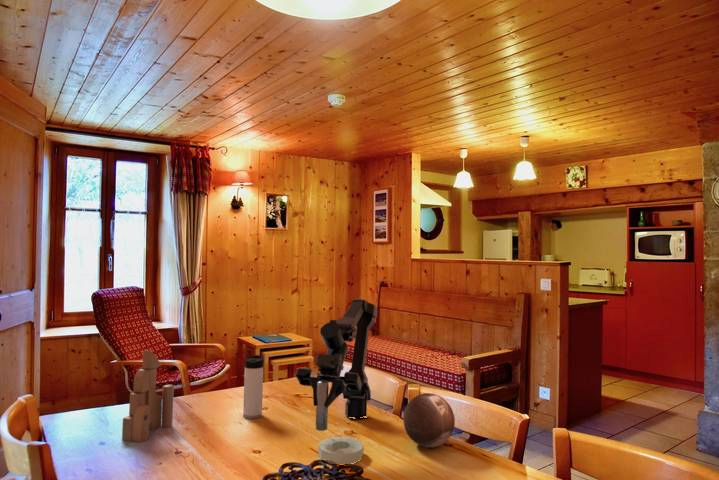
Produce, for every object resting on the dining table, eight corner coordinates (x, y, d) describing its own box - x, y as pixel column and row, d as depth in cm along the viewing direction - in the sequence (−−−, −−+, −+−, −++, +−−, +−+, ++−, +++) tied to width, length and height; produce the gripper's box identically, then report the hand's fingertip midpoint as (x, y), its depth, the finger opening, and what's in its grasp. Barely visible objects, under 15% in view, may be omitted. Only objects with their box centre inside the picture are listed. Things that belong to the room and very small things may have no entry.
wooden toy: (141, 443, 139) (144, 355, 140) (121, 440, 141) (125, 353, 142) (174, 425, 154) (177, 346, 155) (156, 422, 156) (159, 344, 157)
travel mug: (264, 413, 168) (266, 355, 168) (258, 419, 161) (260, 359, 162) (247, 412, 168) (248, 354, 169) (240, 418, 162) (242, 358, 162)
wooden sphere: (436, 460, 132) (437, 405, 132) (392, 445, 142) (393, 394, 142) (463, 445, 143) (464, 394, 144) (421, 432, 153) (422, 384, 153)
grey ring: (354, 445, 141) (354, 435, 141) (368, 462, 130) (369, 451, 130) (314, 450, 137) (314, 439, 137) (325, 467, 126) (326, 456, 126)
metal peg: (323, 425, 137) (324, 379, 138) (329, 429, 134) (330, 382, 135) (313, 427, 135) (314, 381, 136) (319, 431, 133) (320, 383, 133)
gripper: (299, 339, 142) (281, 387, 131) (359, 344, 137) (346, 394, 126) (308, 361, 149) (292, 408, 139) (366, 366, 144) (354, 415, 133)
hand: (320, 406), depth 134 cm, fingers closed on metal peg, 3 cm apart
